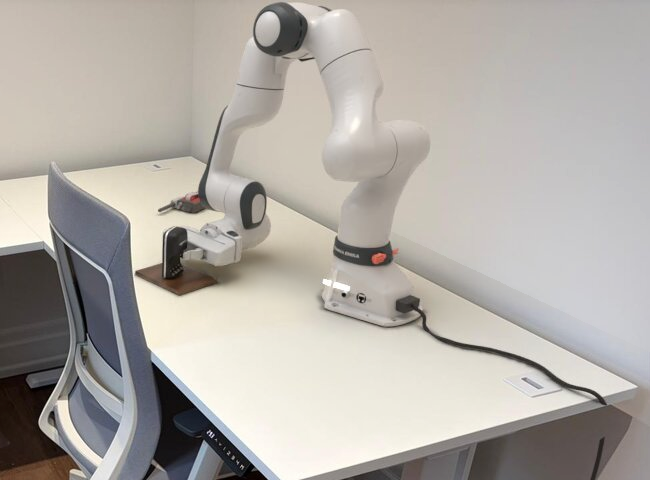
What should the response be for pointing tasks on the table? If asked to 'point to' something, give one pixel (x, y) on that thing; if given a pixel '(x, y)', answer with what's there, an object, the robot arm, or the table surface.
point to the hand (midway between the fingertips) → (173, 252)
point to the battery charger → (173, 251)
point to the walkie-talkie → (185, 203)
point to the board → (177, 279)
